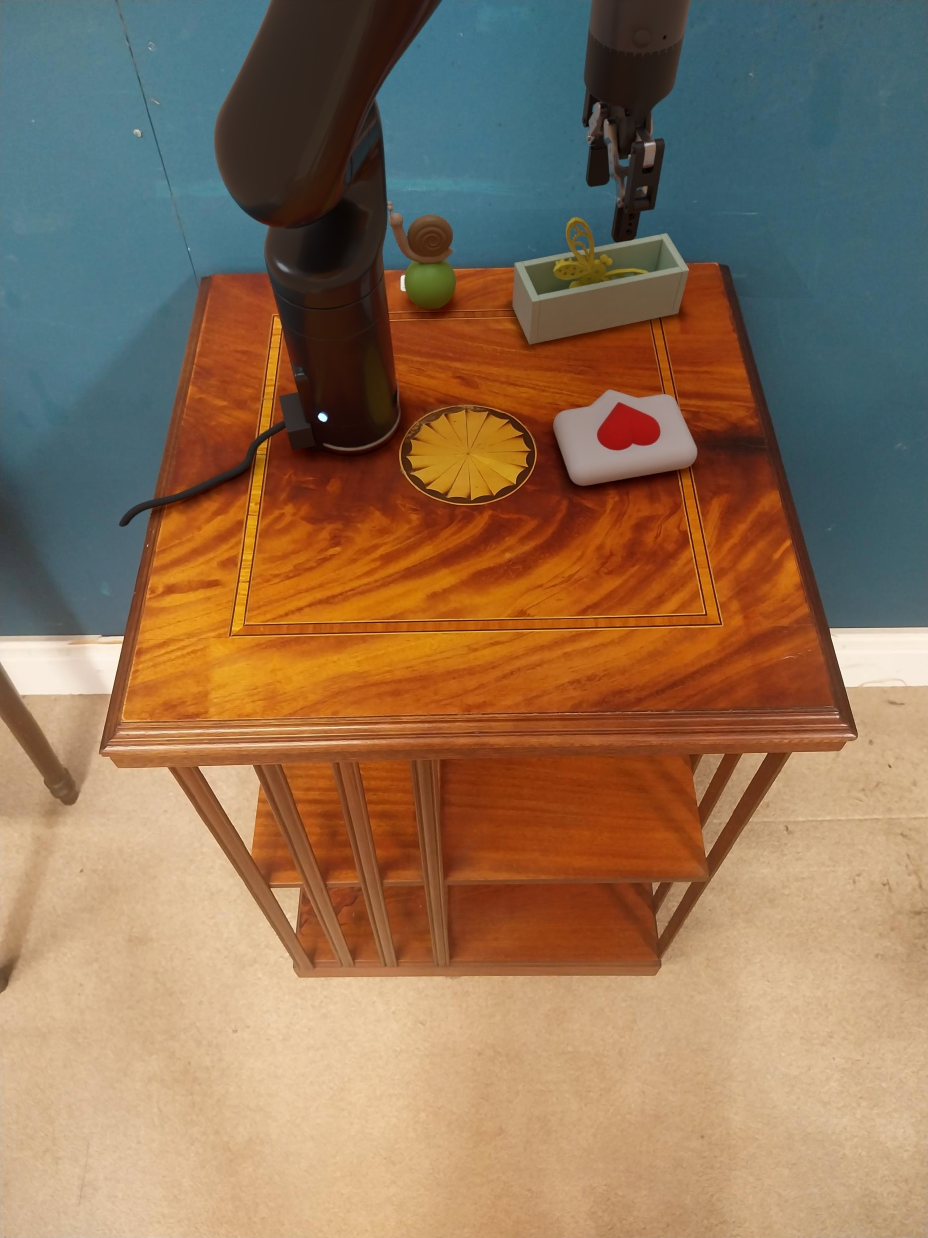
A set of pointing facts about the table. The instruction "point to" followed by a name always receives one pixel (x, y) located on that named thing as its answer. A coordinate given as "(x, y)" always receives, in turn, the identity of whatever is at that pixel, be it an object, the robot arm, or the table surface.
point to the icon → (623, 438)
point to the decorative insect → (587, 261)
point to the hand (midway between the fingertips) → (609, 210)
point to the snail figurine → (426, 259)
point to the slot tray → (599, 290)
